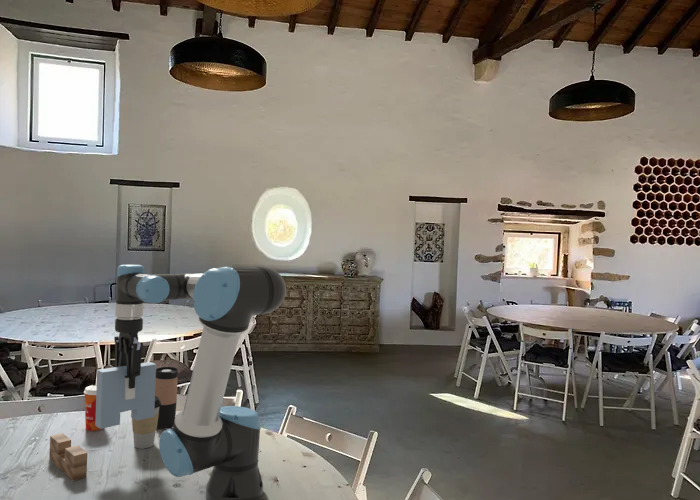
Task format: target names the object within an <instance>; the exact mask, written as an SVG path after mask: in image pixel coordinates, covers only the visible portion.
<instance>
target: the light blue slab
mask: <svg viewBox="0 0 700 500" xmlns="http://www.w3.org/2000/svg"><path fill="white" fill-rule="evenodd" d="M156 369H157V364H156V363H154V362H151V361H149V362H141V370H140V376H136V381H135V398H134V399H128V400H125V376H127V366H120V367H115V366H114V367H108V368H107V367H106V368H102V369H101V368H100V369H97V371H96V385H97V391H96V420H95V426H97V427H98V428H100V429H101V430H103V429H106V428H111V427H115V426H120V425H121V413H124V412H130V413H131V414H130V417H131V419H132V418H133V419H134V420H136V421H138V420H142V419H146V418H151V417H154V407H155V380H156ZM102 428H103V429H102Z"/></svg>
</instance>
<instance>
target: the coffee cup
mask: <svg viewBox="0 0 700 500" xmlns="http://www.w3.org/2000/svg"><path fill="white" fill-rule="evenodd" d="M159 406H161V401H160V400H159V397H157V396H155V407H154V417H151V418H146V419H142V420H138V421H136V420H134V419H133V418H131V425H132V432H133V435H132V436H133V445H134V448H136V449H141V450H142V449H143V450H144V449H148V448H150V447H152V446H154V444H155V438H156V433H157V430H158V429H157V423H158V416H159Z"/></svg>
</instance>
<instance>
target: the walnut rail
mask: <svg viewBox="0 0 700 500" xmlns="http://www.w3.org/2000/svg"><path fill="white" fill-rule="evenodd" d="M48 459H49V461H51V462H52V463H53V464H54V465H55V466H56V467H57V468H58V469H59V470H60V471H61V472H63V473H64V475H66V476H67V477H68V478H69V479H70V480H71V481H72V482H75V481H79V480H83V479H86V478H87V475H88V474H87V472H88V471H87V470H88V451H87V450H85V449H83V448H82V446H81V447H80V445H78V444H77V445H74V446H73V445H72V439H71V438H70V437H68V436H67V435H66V434H64V433H57V434H52V435H50V436H49V457H48Z"/></svg>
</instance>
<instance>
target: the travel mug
mask: <svg viewBox="0 0 700 500" xmlns="http://www.w3.org/2000/svg"><path fill="white" fill-rule="evenodd" d="M178 371H179V369H178V368H177V367H174V366H161V367H156V380H155V396H157V397H159V400H160V401H161V406H159V416H158V423H157V429H156V430H167V429H172V428H173V425H174V421H175V417H176V415H177V414H176V411H177V404H178V403H177V400H178V375H179V374H178Z"/></svg>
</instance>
